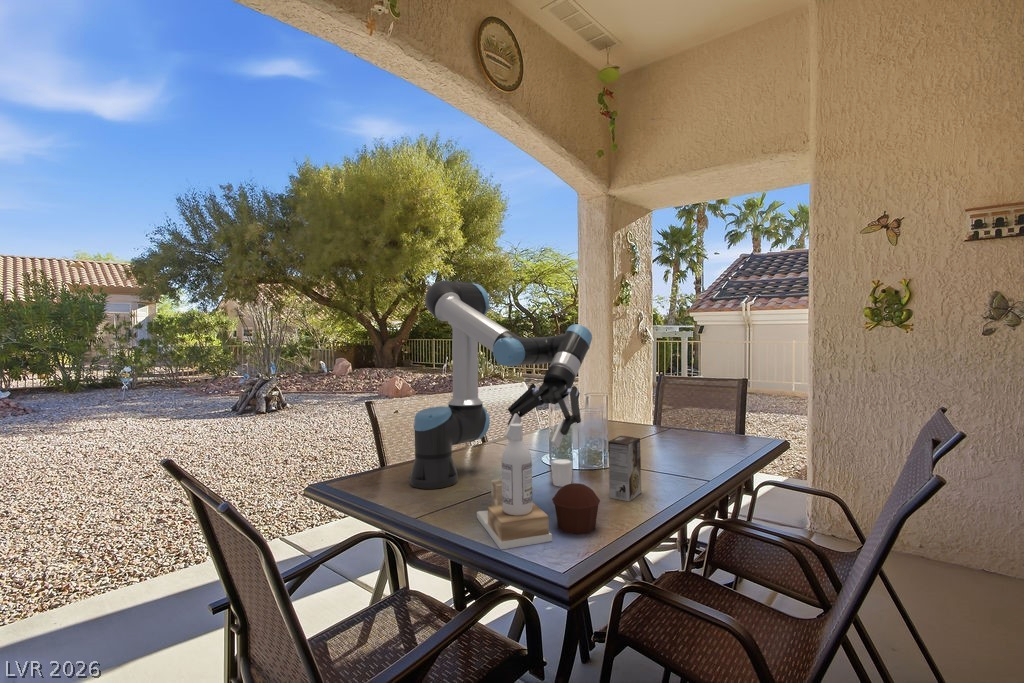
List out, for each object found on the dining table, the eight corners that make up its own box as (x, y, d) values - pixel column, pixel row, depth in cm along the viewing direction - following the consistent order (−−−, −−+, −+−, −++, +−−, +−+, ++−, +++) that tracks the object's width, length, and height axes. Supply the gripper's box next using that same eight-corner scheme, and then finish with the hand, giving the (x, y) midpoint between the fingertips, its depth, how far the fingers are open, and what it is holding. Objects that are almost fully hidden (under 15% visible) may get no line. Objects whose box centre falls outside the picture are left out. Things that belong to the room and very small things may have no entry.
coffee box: (621, 489, 143) (620, 435, 143) (642, 493, 139) (641, 437, 139) (608, 498, 136) (607, 440, 136) (630, 502, 132) (629, 443, 132)
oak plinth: (487, 523, 115) (487, 506, 115) (531, 517, 118) (530, 500, 118) (501, 541, 104) (501, 523, 104) (548, 533, 108) (548, 516, 108)
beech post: (491, 511, 122) (491, 480, 122) (510, 509, 124) (509, 478, 124) (497, 518, 117) (496, 485, 117) (516, 515, 119) (516, 483, 119)
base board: (477, 517, 122) (476, 511, 122) (521, 511, 126) (521, 505, 126) (500, 549, 104) (500, 542, 104) (551, 541, 107) (551, 534, 107)
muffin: (561, 516, 123) (560, 476, 123) (604, 521, 118) (603, 480, 118) (546, 533, 112) (545, 490, 112) (593, 540, 107) (592, 495, 107)
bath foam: (532, 505, 115) (530, 421, 114) (533, 516, 108) (531, 427, 108) (503, 505, 115) (501, 422, 115) (501, 516, 108) (500, 427, 108)
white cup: (572, 480, 153) (572, 458, 153) (573, 487, 146) (573, 464, 146) (551, 480, 154) (550, 458, 154) (550, 487, 147) (550, 464, 147)
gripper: (610, 384, 121) (582, 457, 109) (528, 380, 136) (496, 443, 124) (600, 365, 117) (570, 438, 105) (517, 363, 132) (482, 426, 120)
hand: (530, 441), depth 115 cm, fingers open, 13 cm apart
